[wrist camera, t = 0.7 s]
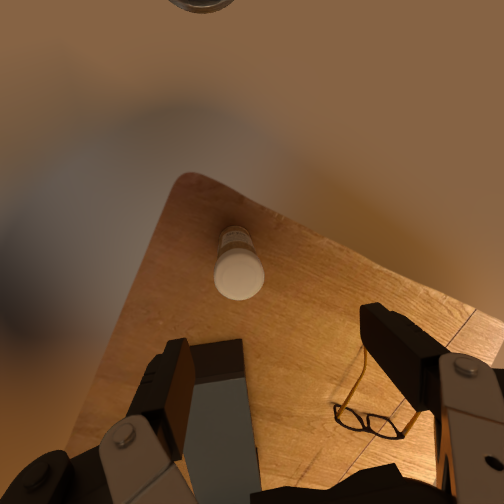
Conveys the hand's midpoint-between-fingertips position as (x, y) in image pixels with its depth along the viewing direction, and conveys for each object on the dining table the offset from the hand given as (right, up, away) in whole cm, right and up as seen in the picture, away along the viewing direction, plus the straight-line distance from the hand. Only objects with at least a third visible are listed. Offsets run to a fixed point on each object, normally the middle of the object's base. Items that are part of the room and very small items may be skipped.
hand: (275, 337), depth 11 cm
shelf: (-6, -24, +32) cm, 40 cm away
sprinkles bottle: (-3, +6, +23) cm, 24 cm away
